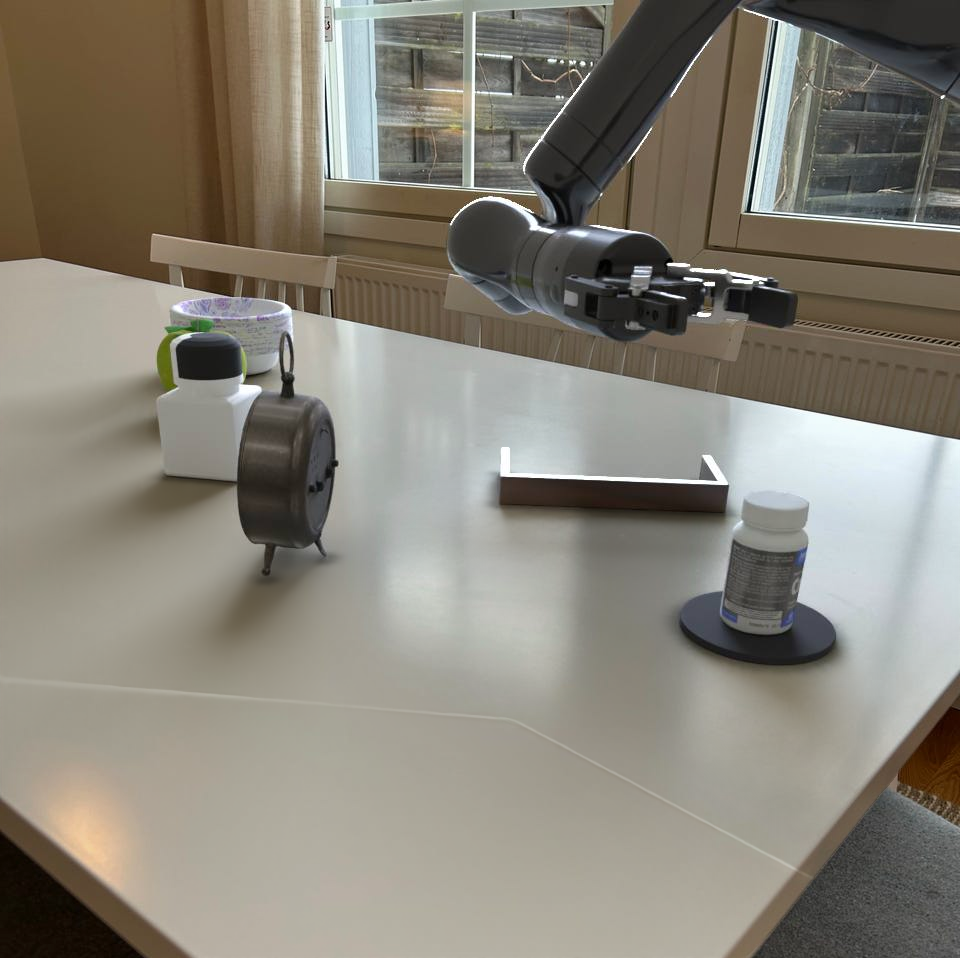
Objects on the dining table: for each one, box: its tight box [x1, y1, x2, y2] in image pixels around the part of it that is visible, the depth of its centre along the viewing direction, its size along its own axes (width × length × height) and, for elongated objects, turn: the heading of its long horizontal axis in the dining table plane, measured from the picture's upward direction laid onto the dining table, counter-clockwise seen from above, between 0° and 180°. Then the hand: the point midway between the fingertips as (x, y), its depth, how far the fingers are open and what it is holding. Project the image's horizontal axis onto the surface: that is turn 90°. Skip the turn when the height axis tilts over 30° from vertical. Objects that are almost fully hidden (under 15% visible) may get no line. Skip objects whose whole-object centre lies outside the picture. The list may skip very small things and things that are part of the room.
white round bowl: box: [169, 296, 294, 376], centre depth 127 cm, size 15×15×8 cm
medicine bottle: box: [155, 332, 263, 482], centre depth 89 cm, size 7×7×12 cm
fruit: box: [156, 319, 247, 393], centre depth 107 cm, size 9×9×10 cm
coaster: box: [679, 590, 837, 666], centre depth 65 cm, size 10×10×1 cm
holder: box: [498, 447, 730, 513], centre depth 88 cm, size 9×20×2 cm, turn 89°
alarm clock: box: [236, 331, 339, 577], centre depth 70 cm, size 11×5×16 cm, turn 174°
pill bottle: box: [720, 489, 810, 635], centre depth 63 cm, size 5×5×8 cm
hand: (739, 314), depth 61 cm, fingers open, 8 cm apart
